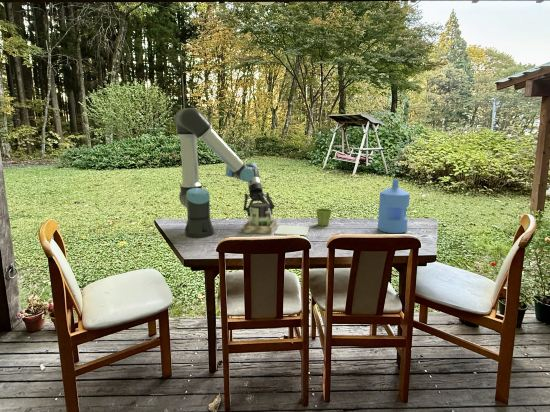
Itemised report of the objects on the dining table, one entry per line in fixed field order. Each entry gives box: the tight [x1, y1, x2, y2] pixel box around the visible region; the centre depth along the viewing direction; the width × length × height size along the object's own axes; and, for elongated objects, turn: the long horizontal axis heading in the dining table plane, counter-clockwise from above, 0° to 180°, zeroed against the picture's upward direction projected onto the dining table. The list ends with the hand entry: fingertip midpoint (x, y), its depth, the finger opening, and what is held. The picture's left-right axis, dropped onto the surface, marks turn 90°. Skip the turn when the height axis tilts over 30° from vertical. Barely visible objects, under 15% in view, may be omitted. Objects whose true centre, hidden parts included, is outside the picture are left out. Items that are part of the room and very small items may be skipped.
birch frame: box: [242, 218, 277, 235], centre depth 213 cm, size 15×15×4 cm
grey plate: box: [274, 224, 310, 237], centre depth 210 cm, size 17×17×1 cm
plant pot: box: [315, 208, 333, 227], centre depth 222 cm, size 9×9×9 cm
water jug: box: [377, 179, 411, 234], centre depth 210 cm, size 16×16×28 cm
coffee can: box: [250, 202, 270, 227], centre depth 211 cm, size 10×10×14 cm
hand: (261, 220), depth 209 cm, fingers closed on coffee can, 10 cm apart
